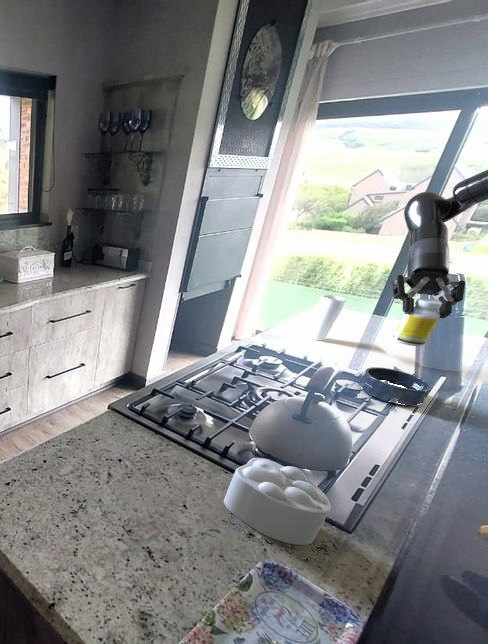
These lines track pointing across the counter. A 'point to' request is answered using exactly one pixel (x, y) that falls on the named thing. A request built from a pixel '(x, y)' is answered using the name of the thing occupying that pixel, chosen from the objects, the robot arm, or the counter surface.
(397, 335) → the pill bottle
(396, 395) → the ring
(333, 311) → the drinking glass
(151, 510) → the counter surface
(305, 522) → the lumpy-topped squat cylinder
